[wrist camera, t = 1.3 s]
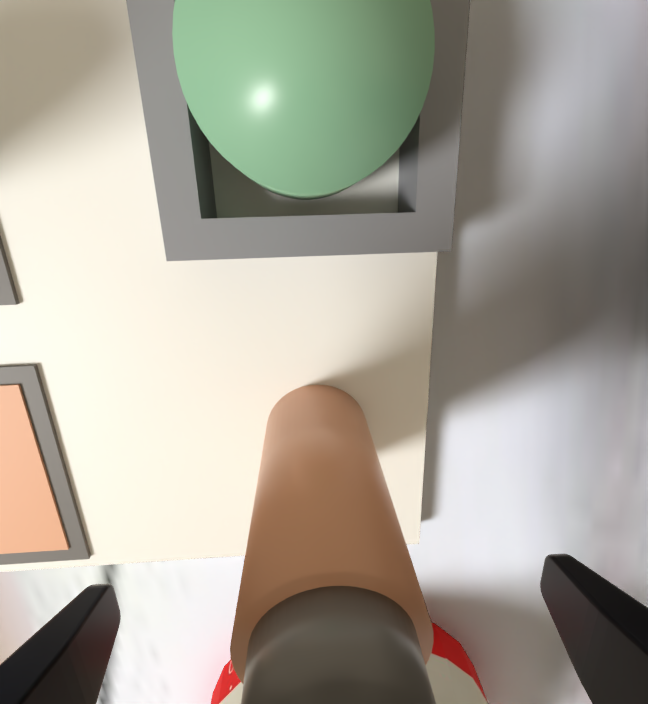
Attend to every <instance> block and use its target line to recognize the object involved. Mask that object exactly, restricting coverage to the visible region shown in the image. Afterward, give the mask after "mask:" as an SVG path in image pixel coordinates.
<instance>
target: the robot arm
mask: <svg viewBox="0 0 648 704" xmlns="http://www.w3.org/2000/svg"><path fill="white" fill-rule="evenodd" d="M540 587H541V592H542V596H543V598H544V600H545V603H546V605H547V607H548V609H549V612H550V614H551V616H552V619H553V621H554V623H555V625H556V628H557V630H558V632H559V634H560V637H561V639H562V641H563V643H564V646H565V648H566V650H567V652H568V655H569V657H570V659H571V662H572V664H573V666H574V668H575V670H576V672H577V675H578V677H579V679H580V681H581V683H582V685H583V687H584V688H585V690H586V692H587V694H588V696H589V698H590V700H591V702H592V703H593V704H648V608H647V607H646V606H644V605H643V604H641V603H640V602H638V601H637V600H635V599H634V598H632V597H631V596H629V595H628V594H627V593H625V592H624V591H622V590H621V589H619V588H618V587H616V586H615V585H613V584H612V583H610V582H609V581H607V580H606V579H604V578H603V577H601V576H600V575H598V574H597V573H595V572H594V571H592V570H591V569H589V568H588V567H587V566H585V565H584V564H582V563H581V562H579V561H578V560H576V559H575V558H573V557H572V556H570V555H568V554H551V555H548V556H547V557H546V558H545V562H544V567H543V572H542V577H541V582H540ZM119 624H120V609H119V606H118V602H117V598H116V594H115V591H114V588H113V586H112V585H111V584H95V585H91V586H89V587H87V588H86V589H84V590H83V591H82V592H81V593H80V594H79V595H78V596H77V597H76V598H74V599H73V600H72V601H71V602H70V603H69V604H68V605H67V606H65V607H64V608H63V609H62V610H61V611H60V612H59V613H58V614H56V615H55V616H54V617H53V618H52V619H51V620H50V621H49V622H48V623H46V624H45V625H44V626H43V627H42V628H41V629H40V630H39V631H37V632H36V633H35V634H34V635H33V636H32V637H31V638H30V639H28V640H27V641H26V642H25V643H24V644H23V645H22V646H21V647H19V648H18V649H17V650H16V651H15V652H14V653H13V654H12V655H11V656H9V657H8V658H7V659H6V660H5V661H4V662H3V663H2V664H0V704H96V702H97V699H98V695H99V692H100V689H101V685H102V682H103V679H104V675H105V672H106V669H107V665H108V662H109V658H110V655H111V652H112V648H113V645H114V642H115V638H116V635H117V631H118V628H119Z"/></svg>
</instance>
